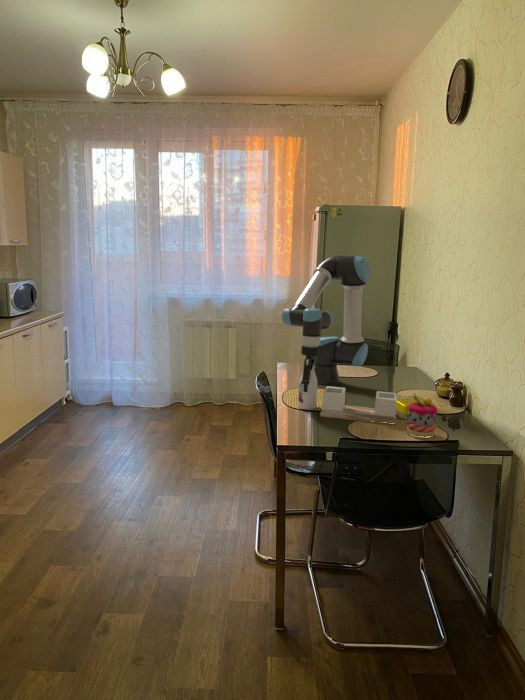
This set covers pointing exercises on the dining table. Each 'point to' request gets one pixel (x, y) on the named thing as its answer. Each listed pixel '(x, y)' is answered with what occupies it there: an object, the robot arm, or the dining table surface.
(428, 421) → the cake
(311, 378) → the milk bottle
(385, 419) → the mounting board
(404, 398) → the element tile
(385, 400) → the mounted modules
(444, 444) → the dining table surface
